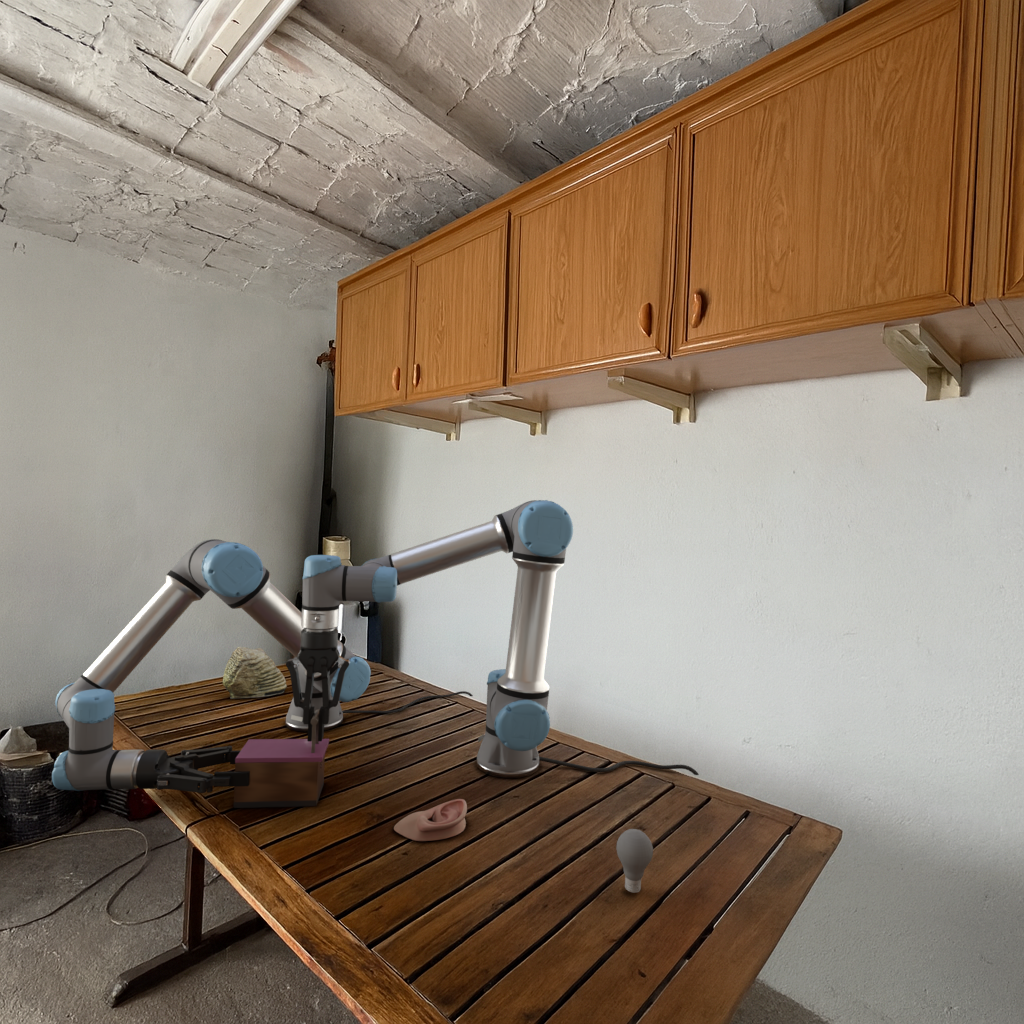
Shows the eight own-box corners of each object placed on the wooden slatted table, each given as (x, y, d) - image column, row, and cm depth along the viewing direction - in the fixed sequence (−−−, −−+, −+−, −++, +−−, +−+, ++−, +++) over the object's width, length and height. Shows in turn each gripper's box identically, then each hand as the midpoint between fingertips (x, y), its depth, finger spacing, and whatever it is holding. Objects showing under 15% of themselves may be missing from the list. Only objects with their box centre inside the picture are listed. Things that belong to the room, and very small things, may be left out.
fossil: (218, 695, 195) (220, 647, 195) (278, 685, 208) (279, 640, 207) (228, 703, 189) (230, 653, 188) (289, 692, 201) (290, 645, 201)
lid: (329, 743, 140) (330, 705, 139) (322, 761, 130) (323, 721, 130) (248, 743, 137) (250, 705, 137) (235, 762, 127) (236, 722, 127)
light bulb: (610, 879, 108) (613, 822, 108) (644, 879, 109) (647, 822, 109) (619, 902, 102) (622, 840, 102) (655, 901, 103) (658, 840, 103)
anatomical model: (388, 815, 119) (410, 788, 130) (387, 836, 119) (409, 808, 130) (456, 826, 116) (472, 797, 127) (455, 847, 116) (471, 817, 128)
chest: (323, 784, 140) (325, 743, 140) (316, 806, 130) (318, 762, 130) (246, 785, 137) (248, 743, 137) (233, 808, 127) (235, 763, 127)
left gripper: (163, 764, 141) (267, 762, 144) (114, 814, 118) (239, 811, 122) (164, 730, 141) (269, 729, 144) (116, 775, 118) (241, 772, 121)
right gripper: (280, 631, 129) (276, 746, 130) (353, 632, 131) (348, 745, 132) (287, 624, 137) (283, 732, 137) (356, 625, 139) (352, 732, 139)
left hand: (255, 767), depth 133 cm, fingers closed on chest, 10 cm apart
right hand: (315, 738), depth 134 cm, fingers closed on lid, 1 cm apart
